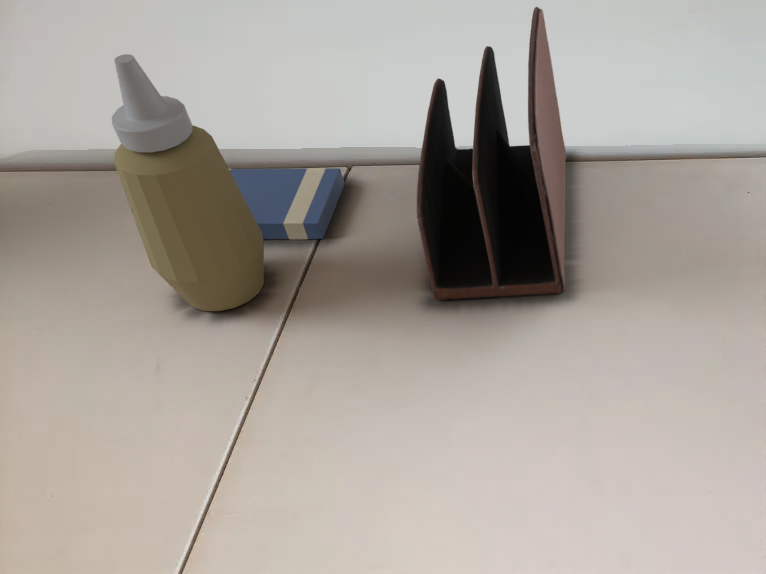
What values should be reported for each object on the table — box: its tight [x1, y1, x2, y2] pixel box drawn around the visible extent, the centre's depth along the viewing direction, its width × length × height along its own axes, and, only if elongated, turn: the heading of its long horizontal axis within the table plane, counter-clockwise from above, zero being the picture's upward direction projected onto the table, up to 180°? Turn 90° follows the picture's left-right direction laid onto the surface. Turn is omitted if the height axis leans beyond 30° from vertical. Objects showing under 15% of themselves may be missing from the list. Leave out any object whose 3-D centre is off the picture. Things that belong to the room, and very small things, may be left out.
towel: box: [229, 167, 346, 240], centre depth 88 cm, size 8×12×2 cm, turn 90°
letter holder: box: [416, 6, 566, 301], centre depth 82 cm, size 10×20×14 cm, turn 5°
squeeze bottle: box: [111, 53, 265, 312], centre depth 75 cm, size 8×8×18 cm
